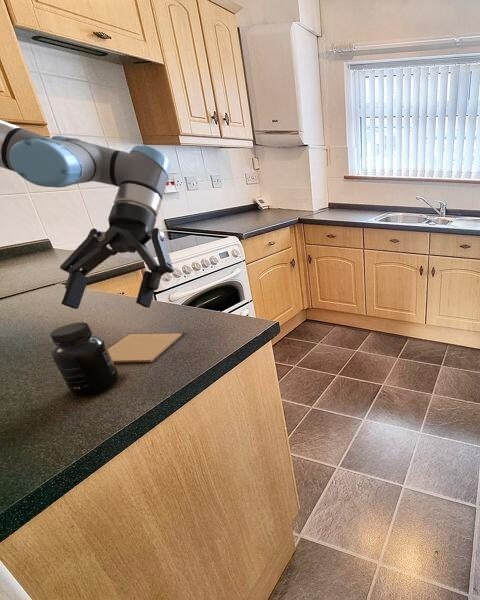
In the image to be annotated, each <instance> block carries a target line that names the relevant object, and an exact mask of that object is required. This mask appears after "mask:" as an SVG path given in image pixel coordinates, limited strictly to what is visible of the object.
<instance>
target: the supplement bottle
mask: <svg viewBox="0 0 480 600" xmlns="http://www.w3.org/2000/svg"><path fill="white" fill-rule="evenodd" d="M49 336H50V337H51V339H52V342H53V345H55V347H53V349H52V350H51V358H52V360H53V362H54V363H55V365H56V367H57V369H58V371H59V373H60V375H61V377H62V378H63V381H64V382H65V384H66V386H67V388H68V389H69V391H70V393H71V394H72V395H73V396H75V397H77V398H78V397H79V398H87V397H91V396H92V397H93V396H95V395H98V394H101V393H103V392H105V391H107V390H109V389H111V388H112V387H114V386H115V385H116V384H117V383H118V381H119V379H120V375H119V372H118V368H117V367H116V365H115V363H113V360H112V358H111V356H110V354H109V351H108V349H109V348H108V347H107V345H106V342H105V341H104V338H103V337H101V336H99V335H97V334H96V335H95V334H93V331H92V329H91V328H90V325H89V323H87V322H84V321H83V322H73V323H68V324H65V325H62V326H59V327H57V328H55V329H54V330H52V331H51V332H50V335H49Z"/></svg>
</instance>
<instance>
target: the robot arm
mask: <svg viewBox="0 0 480 600" xmlns="http://www.w3.org/2000/svg"><path fill="white" fill-rule="evenodd" d="M171 166H172V165H171V162H170V158H168V156H167V155H166V154H165V153H164V152H162V151H161V150H159V149H157V148H156V147H153V146H152V145H151V146H150V145H147V144H142V145H139V144H138V145H137V144H136V145H135V146H133V147H132V148H131V150H130V151H129V152H127V151H124V150H119V149H113V148H109V147H106V146H102V145H98V144H95V143H91V142H87V141H84V140H81V139H79V138H73V137H68V136H62V135H53V136H51V138H50V137H48V136H45V135H42V134H40V133H37V132H34V131H31V130H28V129H26V128H23V127H21V126H18V125H16V124H12V123H9V122H7V121H5V120H2V119H0V168H3V169H6V170H9V171H11V172H14V173H16V174H18V175H19V176H20V177H21V178H22V179H24V180H25V181H27V182H28V183H30V184H33V185H34V186H35V185H36V186H39V187H43V188H44V187H45V188H57V189H58V188H66V187H70V186H74V185H79V184H85V183H90V182H95V183H101V184H105V185H110V186H114V187H118V189H117V192H116V194H115V197H114V200H113V205H111V209H110V211H109V215H108V220H107V221H108V225H109V226H108V228H107V229H106V231H102V230H101V231H100V230H99V229H97V228H91V229H90V231H89V232H88V234H87V237H86V238H85V239H84V240H83V241H82V242H81V243H80V244H79V245H78V246H77V248H76V249H74V251H73V252H72V253H71V254H70V255H69V256H68V257H67V258H66V259H65V260H64V261H63V263H62V264H60V266H59V269H60V270H62V271H64V272H66V273H68V277H67V280H66V282H65V285H64V289H65V292H64V295H63V298H62V300H61V305H63V306H65V307H68V308H71V309H74V310H78V309H79V308H80V305H81V302H82V299H83V296H84V293H85V290H86V287H87V284H88V281H89V279H90V278H89V277H87V275H88V274H89V273H91V272H92V271H93V270H95V269H96V268H98V266H100V265H102V263H104V262H105V261H106V260H107V259H109V258H110V257H113V256H116V255H117V254H124V253H131V254H135V253H136V252H137V254H138V255H139V257H140V258H141V260H142V261H143V262H144V264H145V265H146V267H147V269H148V270H145V271H143V276H142V279H141V282H140V283H141V284H140V286H139V290H138V293H137V297H136V301H135V303H136V304H138V305H140V306H142V307H144V308H146V309H147V308H149V309H150V308H151V305H152V301H153V298H154V297H153V296H154V292H155V291H158V289H160V288H159V287H160V283H161V280H162V277H163V276H164V275H165V274H172V273H174V266H173V264H172V263H173V262H172V259H171V257H170V253H169V250H168V248H167V244H166V240H167V235H166V234H165V233H164V232H163V231H162V230H161V229H160V228H159V227H155V226H156V223H157V217H158V215H159V213H160V208H161V204H162V200H163V197H164V194H165V191H166V187H167V184H168V181H169V180H170V179H169V176H170V171H171ZM149 241H151V242H152V245H153V249H154V251H155V256H156V258H157V261H156V259H155V257H154V256H153V255H152V253H151V251H150V250H149V248H148V246H147V245H146V244H148V242H149ZM108 246H109V247H108Z"/></svg>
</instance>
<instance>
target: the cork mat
mask: <svg viewBox="0 0 480 600" xmlns="http://www.w3.org/2000/svg"><path fill="white" fill-rule="evenodd" d="M182 336H183V333H180V332H177V333H129V334H127V335H125V336H124V337H123V338H121V339H120V340H119V341H117V342H116V343H114V344H113V345H112V346H110V347H109V348H107V349H108V351H109V354H110V356H111V358H112V360H113V363H114V364H117V363H120V364H121V363H152V362H153V361H154V360H156V359H157V358H158V357H159V356H161V354H162V353H164V351H166V350H167V349H168V348H169V347H170V346H172V344H174V343H175V342H176V341H177V340H178V339H179V338H180V337H182Z"/></svg>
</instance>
